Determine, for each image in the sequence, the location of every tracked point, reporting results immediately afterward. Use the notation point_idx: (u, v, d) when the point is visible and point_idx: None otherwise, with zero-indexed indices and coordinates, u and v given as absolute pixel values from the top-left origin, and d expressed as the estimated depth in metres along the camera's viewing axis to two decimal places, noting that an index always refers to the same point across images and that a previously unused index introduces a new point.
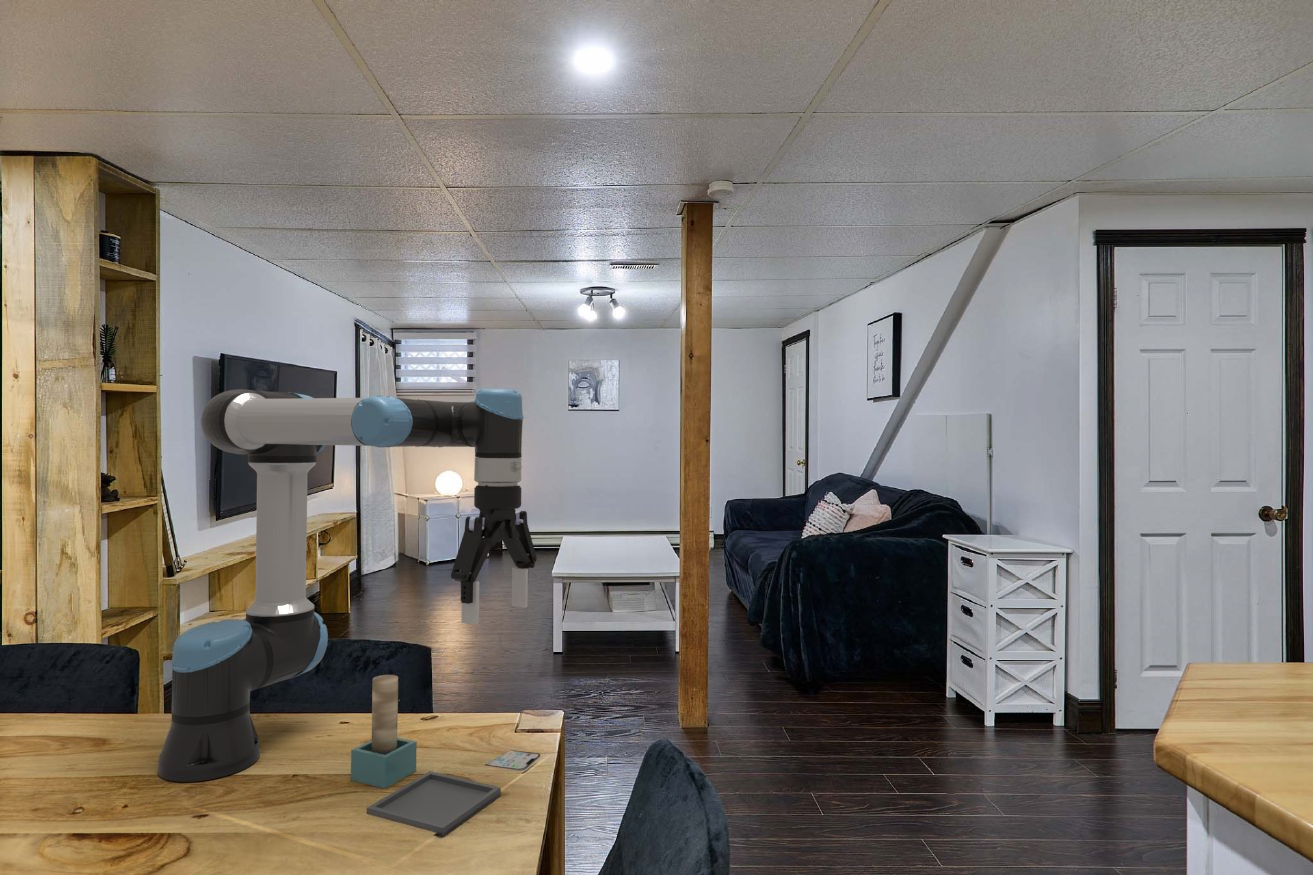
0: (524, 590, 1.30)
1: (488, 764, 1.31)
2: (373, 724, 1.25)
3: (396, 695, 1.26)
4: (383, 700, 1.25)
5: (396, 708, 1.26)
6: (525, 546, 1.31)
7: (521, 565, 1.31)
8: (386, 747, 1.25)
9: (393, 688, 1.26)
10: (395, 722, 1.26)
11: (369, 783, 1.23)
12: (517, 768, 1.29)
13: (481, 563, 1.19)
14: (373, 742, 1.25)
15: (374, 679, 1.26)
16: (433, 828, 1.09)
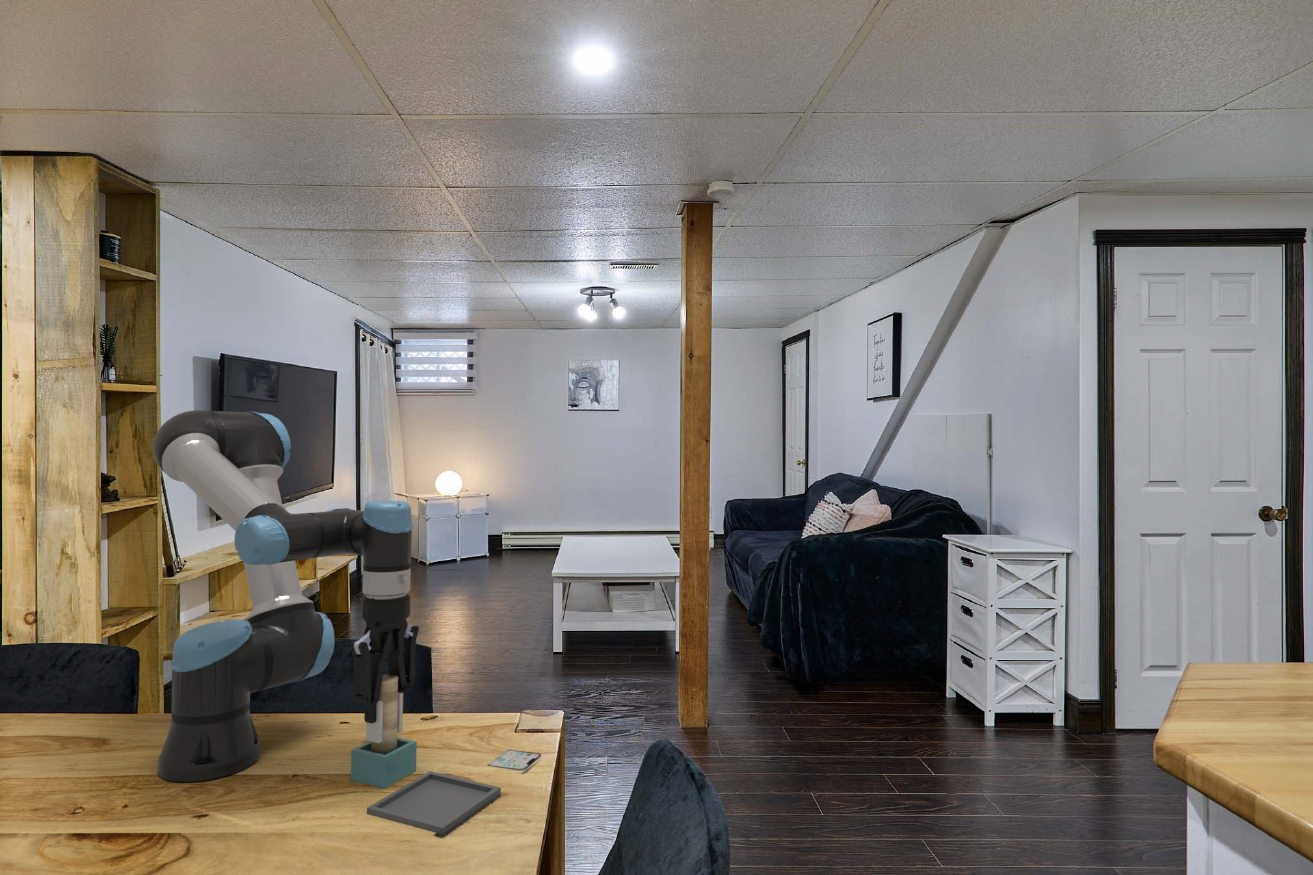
0: (399, 715, 1.28)
1: (489, 764, 1.31)
2: None
3: (396, 695, 1.26)
4: (383, 699, 1.25)
5: (396, 708, 1.26)
6: (407, 663, 1.31)
7: None
8: (386, 747, 1.25)
9: (393, 688, 1.26)
10: (395, 721, 1.26)
11: (369, 783, 1.23)
12: (518, 768, 1.29)
13: (380, 681, 1.24)
14: (373, 742, 1.25)
15: None
16: (433, 828, 1.09)
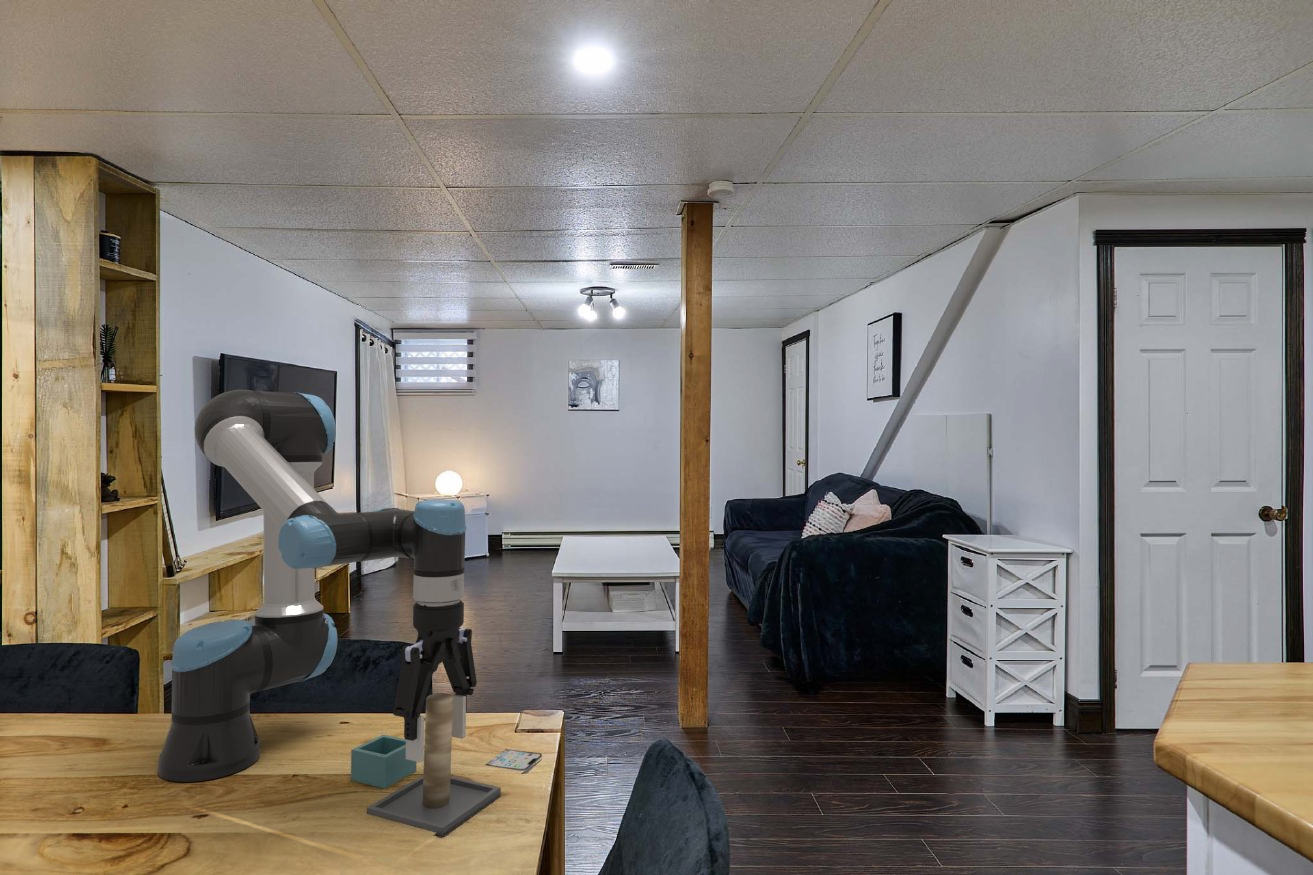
0: (462, 720, 1.21)
1: (490, 764, 1.31)
2: (426, 747, 1.16)
3: (451, 715, 1.17)
4: (438, 721, 1.16)
5: (451, 730, 1.17)
6: (466, 668, 1.23)
7: (459, 692, 1.22)
8: (439, 772, 1.16)
9: (449, 708, 1.17)
10: (449, 744, 1.17)
11: (369, 783, 1.23)
12: (519, 768, 1.29)
13: (424, 694, 1.13)
14: (426, 766, 1.16)
15: (428, 698, 1.17)
16: (433, 828, 1.09)
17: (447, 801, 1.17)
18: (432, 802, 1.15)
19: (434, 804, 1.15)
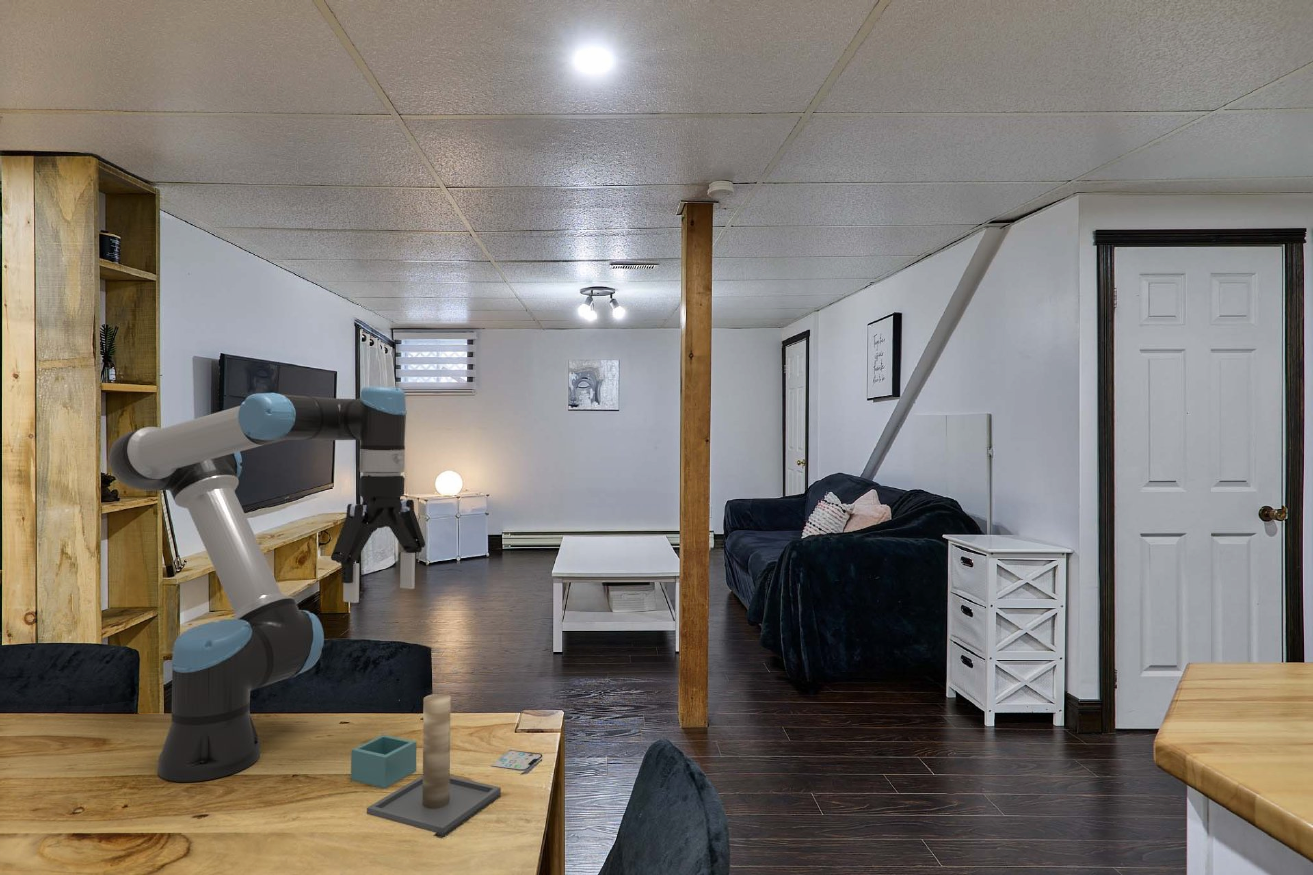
0: (411, 572, 1.40)
1: (491, 765, 1.31)
2: (425, 747, 1.16)
3: (449, 716, 1.17)
4: (436, 721, 1.15)
5: (449, 730, 1.17)
6: (413, 532, 1.42)
7: (409, 550, 1.41)
8: (439, 772, 1.16)
9: (446, 708, 1.16)
10: (448, 744, 1.17)
11: (369, 783, 1.23)
12: (519, 769, 1.29)
13: (361, 546, 1.29)
14: (425, 767, 1.16)
15: (425, 699, 1.17)
16: (433, 828, 1.09)
17: (447, 801, 1.17)
18: (432, 802, 1.15)
19: (434, 804, 1.15)
